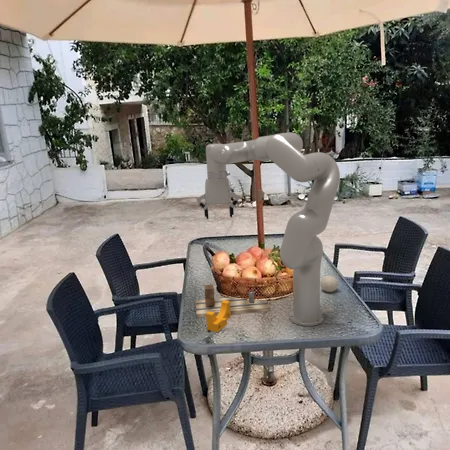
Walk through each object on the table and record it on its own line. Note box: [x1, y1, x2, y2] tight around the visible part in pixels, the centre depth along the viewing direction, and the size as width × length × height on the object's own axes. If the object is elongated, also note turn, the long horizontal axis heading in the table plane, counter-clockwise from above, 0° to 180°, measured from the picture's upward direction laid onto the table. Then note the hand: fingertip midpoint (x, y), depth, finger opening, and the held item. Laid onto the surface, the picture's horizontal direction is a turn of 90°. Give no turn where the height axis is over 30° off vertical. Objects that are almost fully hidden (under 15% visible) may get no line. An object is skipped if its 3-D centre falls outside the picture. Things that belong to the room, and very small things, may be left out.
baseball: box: [320, 275, 339, 293], centre depth 171 cm, size 7×7×7 cm
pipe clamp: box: [205, 300, 231, 333], centre depth 149 cm, size 12×4×6 cm, turn 148°
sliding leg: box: [203, 284, 215, 306], centre depth 160 cm, size 4×4×8 cm
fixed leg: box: [248, 290, 255, 303], centre depth 162 cm, size 2×2×4 cm
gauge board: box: [195, 296, 271, 319], centre depth 162 cm, size 28×12×2 cm, turn 95°
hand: (219, 217), depth 167 cm, fingers open, 9 cm apart
